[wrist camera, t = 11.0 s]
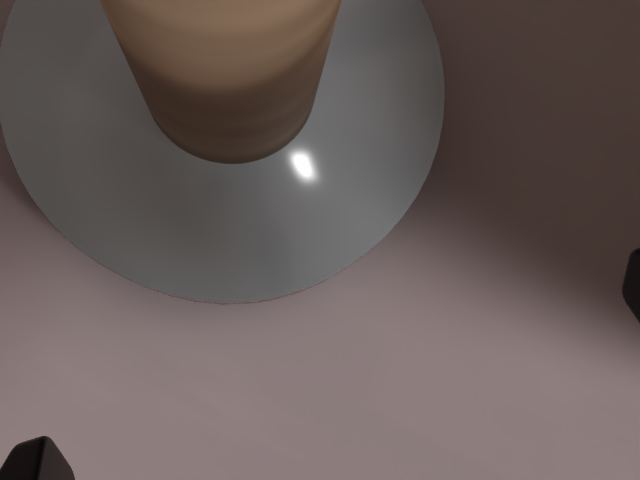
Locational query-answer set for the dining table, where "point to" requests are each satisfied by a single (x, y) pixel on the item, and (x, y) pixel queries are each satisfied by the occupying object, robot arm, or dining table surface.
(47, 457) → the robot arm
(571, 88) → the dining table surface
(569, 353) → the dining table surface
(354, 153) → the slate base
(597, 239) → the dining table surface
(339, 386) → the dining table surface
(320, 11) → the pepper mill
